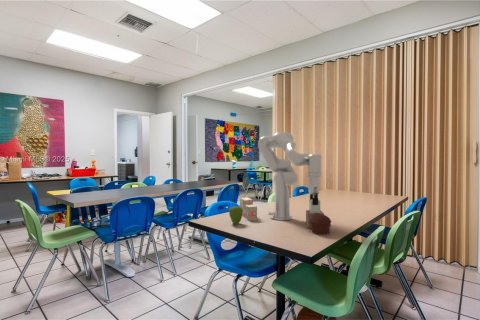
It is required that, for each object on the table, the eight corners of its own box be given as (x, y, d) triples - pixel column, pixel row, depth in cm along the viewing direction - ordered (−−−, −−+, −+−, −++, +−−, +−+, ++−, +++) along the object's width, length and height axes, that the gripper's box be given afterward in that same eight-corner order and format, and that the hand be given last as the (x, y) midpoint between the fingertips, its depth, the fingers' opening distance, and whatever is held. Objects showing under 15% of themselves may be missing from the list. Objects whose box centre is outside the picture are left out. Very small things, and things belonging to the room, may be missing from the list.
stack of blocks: (257, 220, 180) (257, 201, 179) (248, 221, 178) (248, 202, 178) (247, 213, 200) (247, 196, 200) (239, 214, 199) (239, 197, 198)
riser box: (308, 228, 158) (308, 213, 158) (306, 224, 167) (305, 210, 167) (324, 229, 157) (324, 213, 157) (320, 225, 166) (320, 210, 166)
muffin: (306, 232, 150) (306, 215, 150) (314, 228, 158) (314, 211, 158) (326, 237, 142) (326, 218, 142) (334, 232, 151) (334, 214, 150)
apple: (244, 222, 174) (244, 204, 173) (240, 225, 166) (240, 207, 165) (231, 221, 176) (231, 204, 176) (227, 225, 168) (227, 206, 168)
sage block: (310, 212, 159) (310, 201, 159) (309, 210, 165) (309, 199, 165) (320, 212, 159) (320, 201, 159) (318, 211, 164) (318, 199, 164)
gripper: (305, 173, 170) (305, 200, 171) (310, 176, 153) (309, 206, 154) (318, 173, 170) (317, 200, 170) (323, 176, 152) (323, 206, 153)
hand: (313, 203), depth 162 cm, fingers open, 9 cm apart
